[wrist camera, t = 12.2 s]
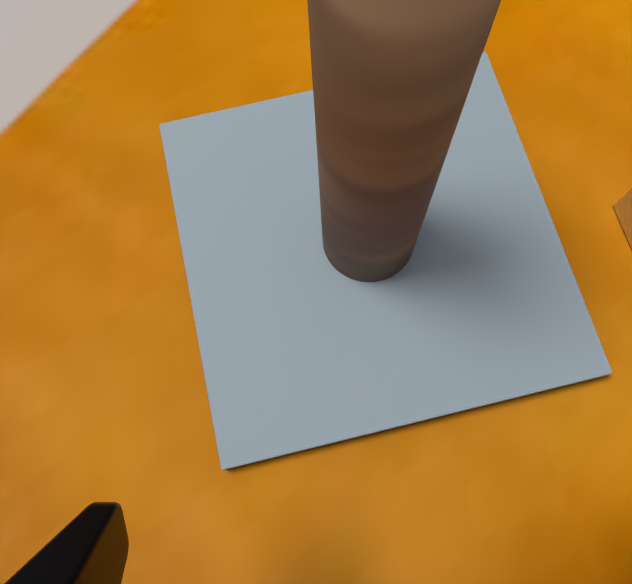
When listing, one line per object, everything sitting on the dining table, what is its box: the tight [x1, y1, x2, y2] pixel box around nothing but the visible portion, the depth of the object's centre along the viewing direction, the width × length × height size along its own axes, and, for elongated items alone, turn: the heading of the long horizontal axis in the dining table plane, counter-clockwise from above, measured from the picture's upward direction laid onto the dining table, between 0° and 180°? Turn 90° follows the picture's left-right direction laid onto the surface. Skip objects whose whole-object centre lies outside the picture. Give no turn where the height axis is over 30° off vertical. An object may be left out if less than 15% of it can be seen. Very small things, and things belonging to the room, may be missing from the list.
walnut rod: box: [308, 0, 501, 282], centre depth 13 cm, size 3×3×13 cm
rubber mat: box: [159, 52, 612, 470], centre depth 19 cm, size 12×12×1 cm
